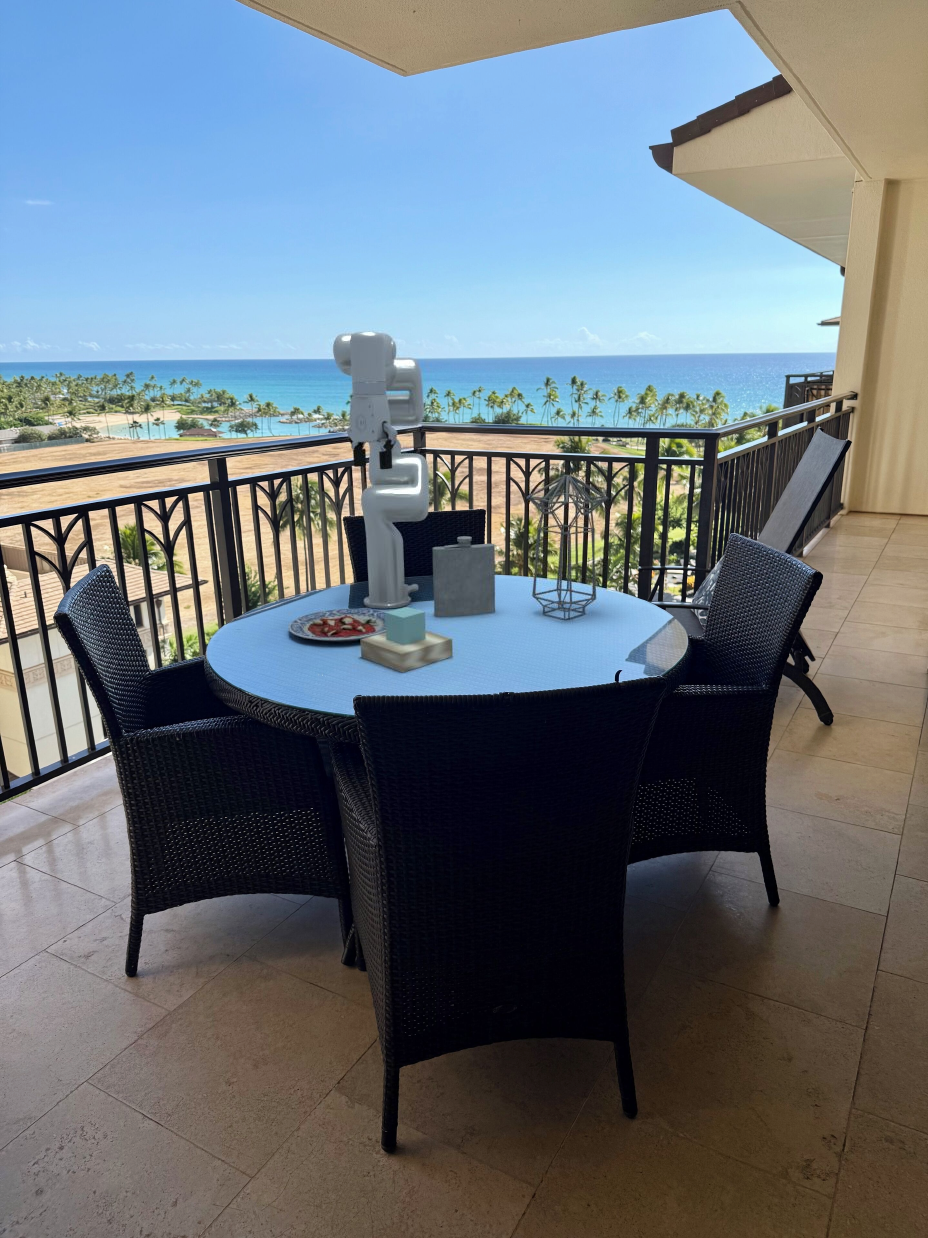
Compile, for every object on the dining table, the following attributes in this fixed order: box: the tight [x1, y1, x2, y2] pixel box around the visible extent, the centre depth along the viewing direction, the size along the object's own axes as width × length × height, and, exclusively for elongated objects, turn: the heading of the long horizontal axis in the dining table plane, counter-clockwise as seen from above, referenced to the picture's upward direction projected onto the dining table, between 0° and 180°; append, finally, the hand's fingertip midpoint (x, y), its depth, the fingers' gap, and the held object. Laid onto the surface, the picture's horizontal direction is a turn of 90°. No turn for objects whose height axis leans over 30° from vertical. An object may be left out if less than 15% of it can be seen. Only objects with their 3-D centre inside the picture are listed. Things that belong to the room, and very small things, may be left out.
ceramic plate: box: [288, 608, 386, 642], centre depth 194 cm, size 26×26×3 cm
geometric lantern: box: [526, 474, 610, 621], centre depth 201 cm, size 16×16×35 cm
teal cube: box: [384, 606, 426, 645], centre depth 173 cm, size 6×6×6 cm
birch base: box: [359, 630, 454, 673], centre depth 175 cm, size 14×14×4 cm
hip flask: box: [432, 535, 496, 618], centre depth 204 cm, size 16×4×20 cm, turn 104°
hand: (372, 467), depth 186 cm, fingers open, 9 cm apart
